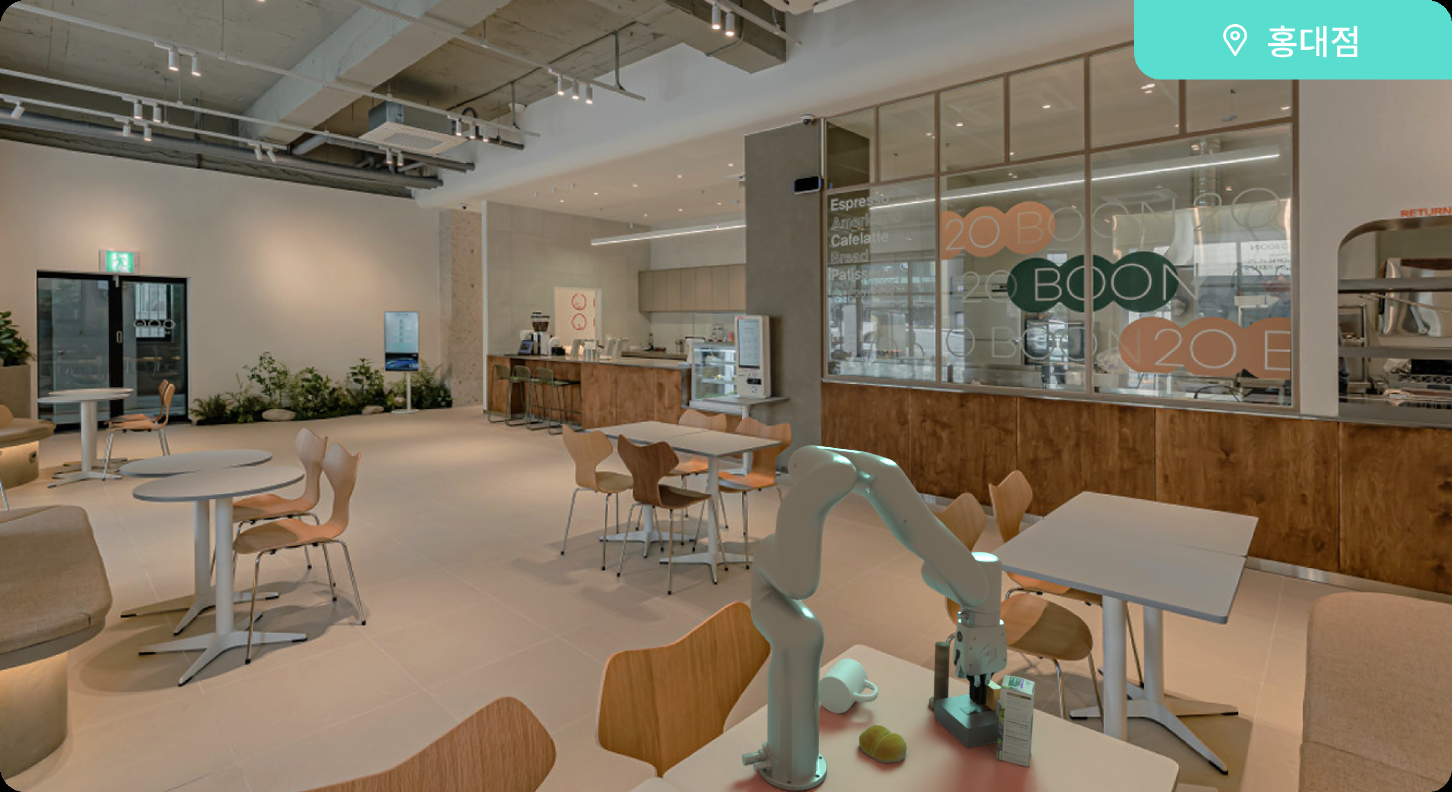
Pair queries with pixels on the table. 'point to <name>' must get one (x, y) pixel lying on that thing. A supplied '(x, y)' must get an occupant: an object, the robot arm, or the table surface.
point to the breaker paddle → (992, 695)
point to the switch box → (968, 720)
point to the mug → (845, 686)
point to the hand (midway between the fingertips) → (977, 701)
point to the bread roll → (882, 744)
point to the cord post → (940, 673)
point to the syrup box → (1015, 720)
